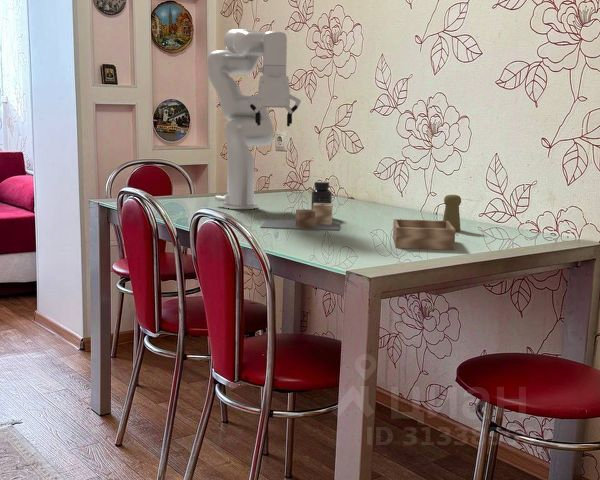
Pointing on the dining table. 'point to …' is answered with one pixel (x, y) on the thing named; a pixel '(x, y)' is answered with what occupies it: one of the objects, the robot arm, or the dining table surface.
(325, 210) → the maple block
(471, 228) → the dining table surface
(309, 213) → the walnut block
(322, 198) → the supplement bottle
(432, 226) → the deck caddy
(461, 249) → the dining table surface
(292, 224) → the mat
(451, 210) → the cork
